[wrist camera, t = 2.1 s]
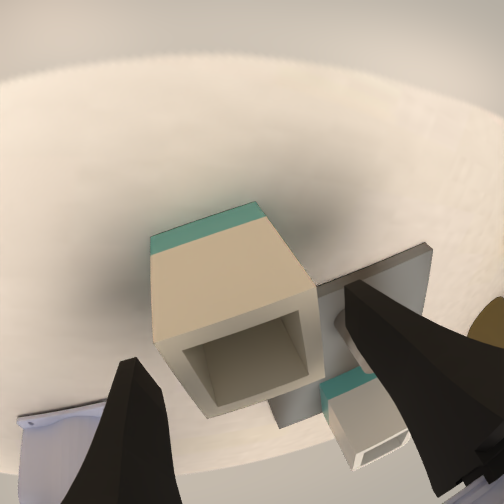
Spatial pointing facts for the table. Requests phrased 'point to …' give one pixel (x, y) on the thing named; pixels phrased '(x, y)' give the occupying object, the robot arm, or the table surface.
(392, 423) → the seated sleeve
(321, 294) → the pin board
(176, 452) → the table surface
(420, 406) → the robot arm
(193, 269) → the sleeve
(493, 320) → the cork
